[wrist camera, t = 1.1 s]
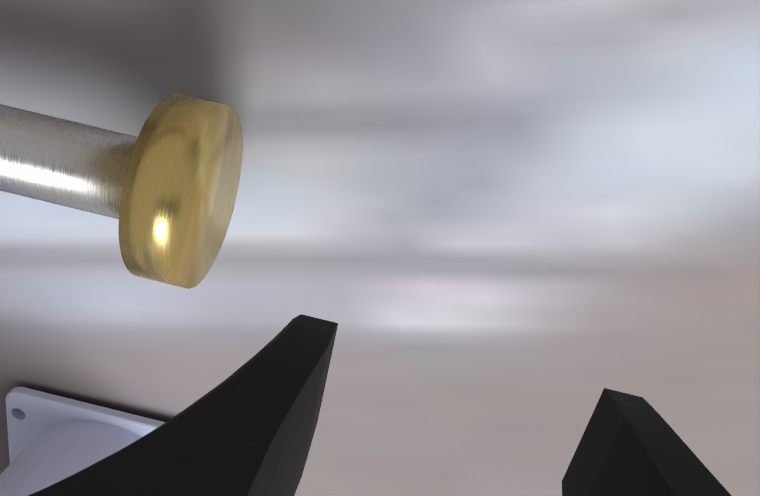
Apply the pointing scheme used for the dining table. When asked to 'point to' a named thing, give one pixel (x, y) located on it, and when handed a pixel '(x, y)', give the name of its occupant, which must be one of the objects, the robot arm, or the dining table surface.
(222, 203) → the shaft
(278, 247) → the dining table surface
